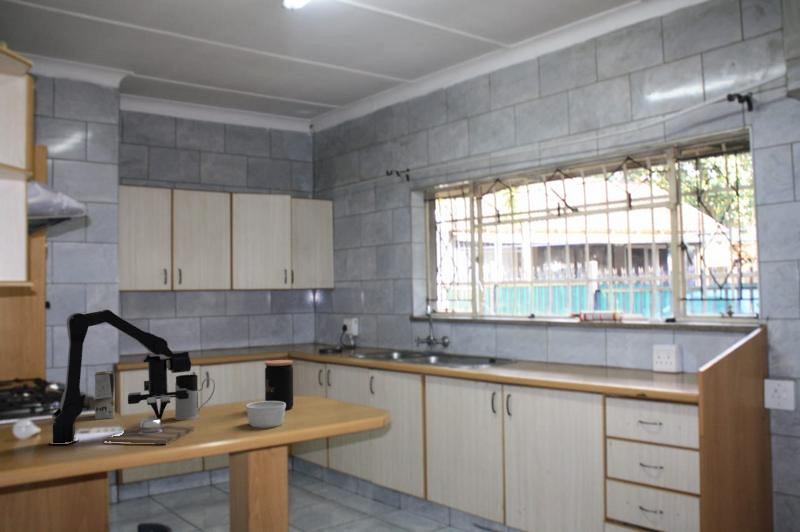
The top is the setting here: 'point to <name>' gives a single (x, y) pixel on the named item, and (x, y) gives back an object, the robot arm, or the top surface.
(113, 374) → the coffee box
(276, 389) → the coffee jar
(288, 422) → the top surface
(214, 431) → the top surface
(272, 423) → the ramekin
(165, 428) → the lock board
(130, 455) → the top surface
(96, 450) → the top surface
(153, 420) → the lock knob
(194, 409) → the grey black mug
